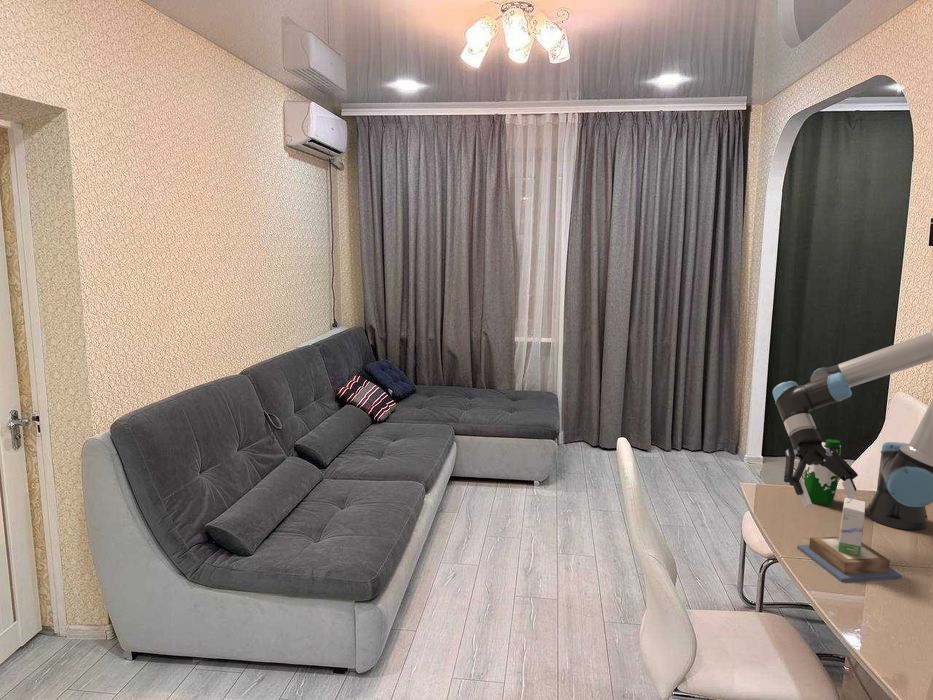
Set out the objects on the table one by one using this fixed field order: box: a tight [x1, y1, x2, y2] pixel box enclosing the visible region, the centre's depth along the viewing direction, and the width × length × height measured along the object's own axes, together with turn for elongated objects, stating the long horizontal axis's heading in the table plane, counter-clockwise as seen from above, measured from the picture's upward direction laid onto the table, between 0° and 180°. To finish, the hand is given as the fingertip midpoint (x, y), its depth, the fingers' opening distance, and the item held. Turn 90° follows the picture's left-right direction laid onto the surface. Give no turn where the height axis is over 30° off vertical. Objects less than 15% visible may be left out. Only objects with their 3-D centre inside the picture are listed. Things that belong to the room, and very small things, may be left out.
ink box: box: [838, 497, 866, 556], centre depth 175 cm, size 8×5×12 cm, turn 149°
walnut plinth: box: [808, 535, 891, 574], centre depth 176 cm, size 12×14×3 cm
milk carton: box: [803, 438, 842, 507], centre depth 216 cm, size 9×9×20 cm
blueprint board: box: [796, 544, 903, 583], centre depth 176 cm, size 16×18×1 cm
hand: (832, 505), depth 181 cm, fingers open, 13 cm apart
